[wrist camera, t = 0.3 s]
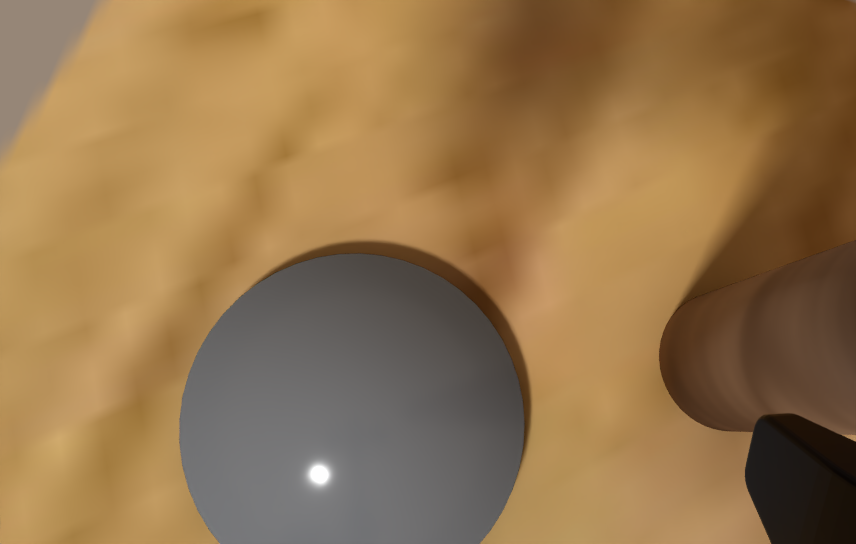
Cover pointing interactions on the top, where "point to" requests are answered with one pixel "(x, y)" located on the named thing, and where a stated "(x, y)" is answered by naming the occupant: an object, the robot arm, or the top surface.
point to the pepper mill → (769, 347)
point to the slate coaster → (352, 410)
